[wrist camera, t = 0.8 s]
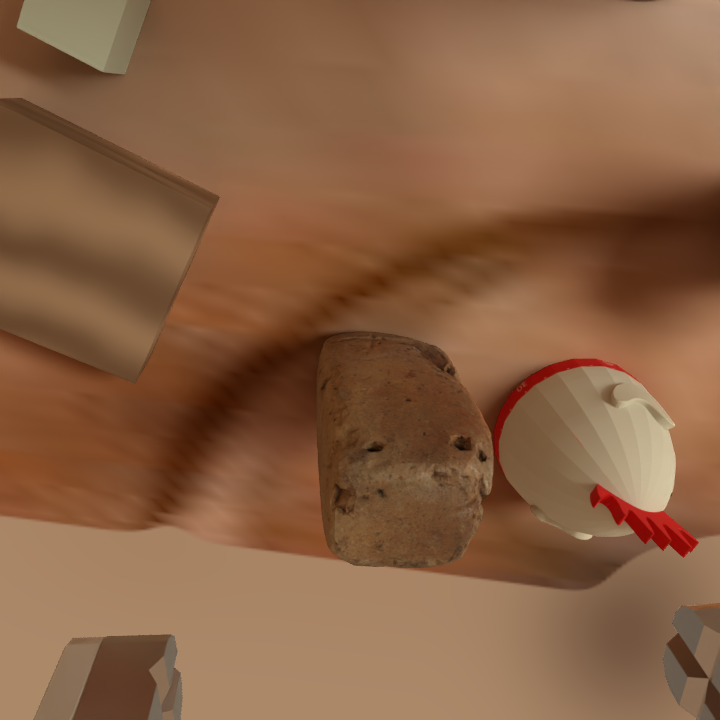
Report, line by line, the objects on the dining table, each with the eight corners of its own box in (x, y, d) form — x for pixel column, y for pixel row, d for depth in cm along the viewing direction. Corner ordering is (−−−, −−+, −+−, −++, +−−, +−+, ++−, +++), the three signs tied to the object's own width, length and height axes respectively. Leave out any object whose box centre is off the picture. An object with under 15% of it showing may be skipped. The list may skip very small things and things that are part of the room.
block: (312, 407, 52) (316, 578, 34) (317, 322, 49) (325, 459, 31) (439, 412, 53) (510, 580, 35) (452, 330, 50) (536, 465, 32)
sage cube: (73, -46, 39) (42, -65, 34) (152, -3, 40) (132, -15, 35) (49, 35, 40) (16, 27, 36) (125, 74, 41) (103, 72, 37)
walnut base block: (23, 98, 42) (-11, 99, 37) (220, 196, 45) (210, 208, 41) (-33, 280, 46) (-70, 300, 42) (150, 356, 50) (135, 383, 45)
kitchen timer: (589, 515, 59) (676, 643, 45) (465, 465, 56) (517, 588, 42) (678, 394, 54) (804, 495, 41) (548, 332, 51) (638, 420, 37)
